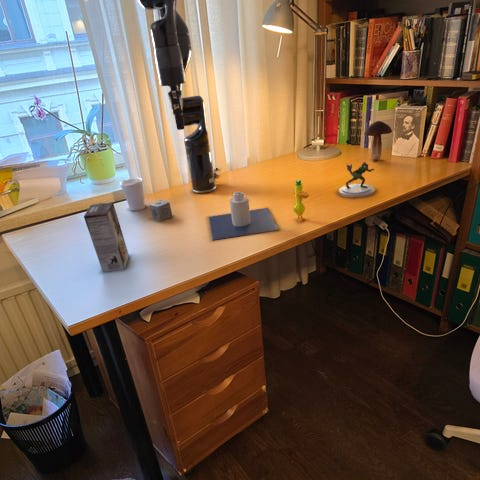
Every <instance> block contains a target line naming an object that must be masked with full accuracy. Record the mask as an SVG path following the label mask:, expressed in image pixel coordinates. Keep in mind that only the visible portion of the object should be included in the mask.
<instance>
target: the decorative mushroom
mask: <svg viewBox="0 0 480 480" xmlns="http://www.w3.org/2000/svg"><path fill="white" fill-rule="evenodd" d="M392 133H393V130H392V128H391V126H390V125H389V124H387V123H385V122H384V121H381V120H377V121H373V122H372V123H370V125H368V126H367V127H366V129H365V130H364V132H363V135H364V136H368V137H373V138H372V143H371V150H370V159H371V160H373V161H378V160H380V159H381V157H382V152H383V151H382V149H383V147H382V145H383V142H382V135H387V134H392Z"/></svg>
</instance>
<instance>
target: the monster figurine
mask: <svg viewBox="0 0 480 480" xmlns="http://www.w3.org/2000/svg"><path fill="white" fill-rule="evenodd" d="M370 164H371V163H367V162H366V161H364V162H362V163H361V165H358V168H357V169H355V170H353V171H352V169H353V163H351V164H350V165H349V164H346V169H347V171H348V172H349V174H350V176H352V178H351V179H349V180H348V181H346V182H345V185H344V186H341V187H340V188H339V189H338V194H339V195H340V196H342V197H345V198H350V199H351V198H353V199H356V198H366V197H369V196H372V195H373V194H375V191H376V187H374V186H373V185H370V184H367V183H365V182H366V178H365V177H364V176H363V174H365V173H366V172H369V173H372V171H373V172H375V169H374V168H371V169H370V168H369V165H370ZM357 180H361V183H352V182H355V181H357Z"/></svg>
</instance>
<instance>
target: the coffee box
mask: <svg viewBox="0 0 480 480" xmlns="http://www.w3.org/2000/svg"><path fill="white" fill-rule="evenodd" d="M83 218H84V221H85V224H86V228H87V230H88V233H89V236H90V239H91V242H92V246H93V248H94V251H95V254H96V257H97V260H98V263H99V266H100V269H101V271H102V273H108V272H114V271H115V272H116V271H122V270H125V269H126V267H127V262H128V259H129V256H130V254H129V251H128V250H129V249H128V248H127V244H126V240H125V236H124V234H123V230H122V228H121V227H122V226H121V224H120V220H119V217H118V213H117V211H116V207H115V205H114V201H112V202H101V203H94V204H90V205H89V207H88V208H87V210H86V212H85V213H84V215H83Z"/></svg>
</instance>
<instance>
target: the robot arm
mask: <svg viewBox="0 0 480 480" xmlns="http://www.w3.org/2000/svg"><path fill="white" fill-rule="evenodd" d="M177 1H178V0H137V2H138V4H139V5H140V6H141V8H143V9H144V10H146V11H154V10H157V16H158V19H157V20H155V21H153V22H151V23H150V26H149V27H150V29H149V30H150V35H151V40H152V45H153V48H154V49H153V50H154V60H155V65H156V71H157V75H158V80H159V81H158V82H159V85H160V86H161V87H169V91H167V92H168V93H167V97H168V100H169V104H170V109H171V110H172V115H173V116H174V120H175V125H176V129H177V130H178V131H182V130H184V129H185V127H190V126H191V127H192V126H196V125H197V126H196V128H195V129H194V131H192V132H191V133H190V134H188V135H186V136H185V137H184V139H183V143H184V149H185V154H186V160H187V165H188V170H189V171H188V172H189V177H190V182H191V187H192V189H191V190H192V192H193V193H195V194H206V193H207V194H208V193H211V192H214V191H216V189H217V186H216V180H215V179H217V177H218V173H217V172H214V170H213V167H214V166H213V159H212V153H211V146H210V139H209V131H208V123H207V114H206V105H205V100H204V98H203V97H202V96H201V95H192V96H191V95H190V96H186V97H183V91H182V89H183V88H182V87H183V84H185V83H186V82H187V79H186V71H187V70H188V67H189V64H190V61H191V57H192V53H193V49H192V43H191V37H190V30H189V27H188V25H187V23H186V22H185V20H184V19H183V17H182V16H181V15H180V13H179V12H178V11H177V3H178V2H177ZM215 170H216V171H219V167H217V168H216V169H215Z"/></svg>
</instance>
